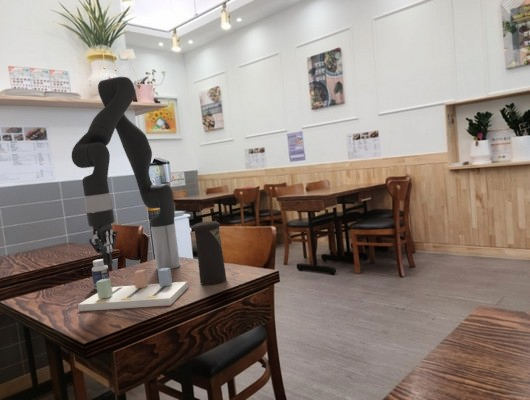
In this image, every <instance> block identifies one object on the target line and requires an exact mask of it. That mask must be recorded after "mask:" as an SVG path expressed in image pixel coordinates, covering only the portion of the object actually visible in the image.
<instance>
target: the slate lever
mask: <svg viewBox="0 0 530 400" xmlns="http://www.w3.org/2000/svg"><path fill="white" fill-rule="evenodd" d="M171 270H172V269H170V268H161V269H160V270H157V276H158V282H159V283H158V284H160V286H169V285H171V284H172V283H173V278H172V277H173V276H172V271H171Z"/></svg>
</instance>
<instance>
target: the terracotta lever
mask: <svg viewBox="0 0 530 400" xmlns="http://www.w3.org/2000/svg"><path fill="white" fill-rule="evenodd" d="M147 270H148V269H138V270H136V271H134V272H133V278H134V285H135V287H136V288H145V287H146V286H148V285H149V278H148V271H147Z"/></svg>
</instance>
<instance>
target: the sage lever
mask: <svg viewBox="0 0 530 400" xmlns="http://www.w3.org/2000/svg"><path fill="white" fill-rule="evenodd" d="M96 285H97V289H96V291H97V292H96V293H98V298H99V299H100V298H109V297H110V296H112V295H113V292H112V287H113V286H112V280H111V278H110V279H101V280H99V281H98V282H96Z"/></svg>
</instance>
